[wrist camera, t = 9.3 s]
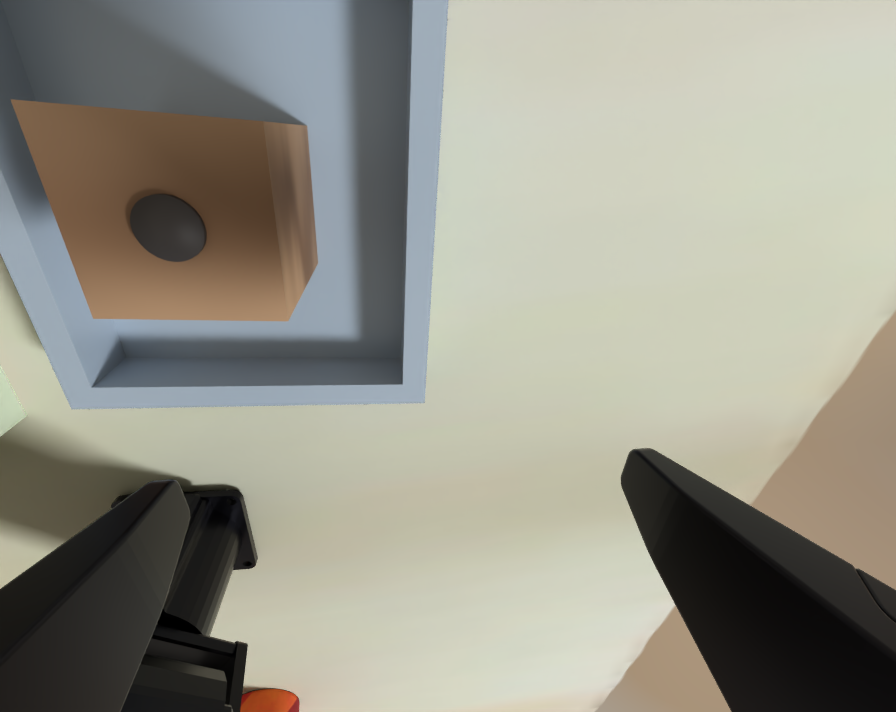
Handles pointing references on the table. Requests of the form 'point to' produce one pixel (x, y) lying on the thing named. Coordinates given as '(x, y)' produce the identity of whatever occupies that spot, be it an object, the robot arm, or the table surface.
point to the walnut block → (177, 210)
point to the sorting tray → (333, 184)
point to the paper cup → (269, 701)
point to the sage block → (9, 405)
